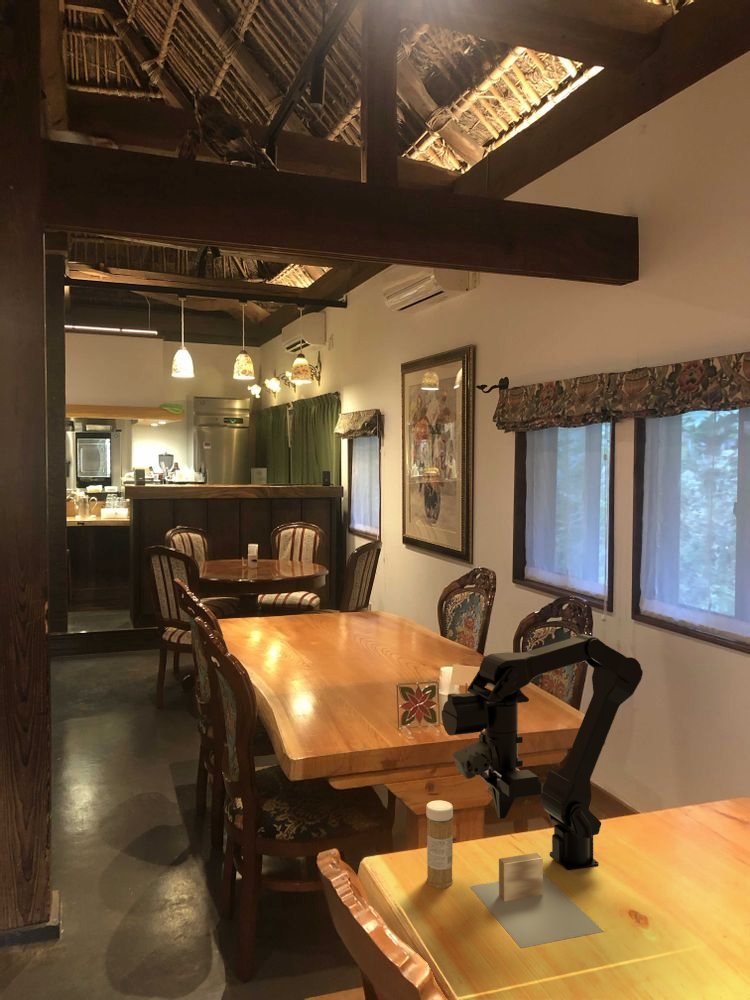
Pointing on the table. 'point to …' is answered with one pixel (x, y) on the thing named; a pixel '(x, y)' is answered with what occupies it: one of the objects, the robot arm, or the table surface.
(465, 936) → the table surface
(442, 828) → the sprinkles bottle
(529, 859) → the walnut tile
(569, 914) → the slate mat
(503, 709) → the robot arm
